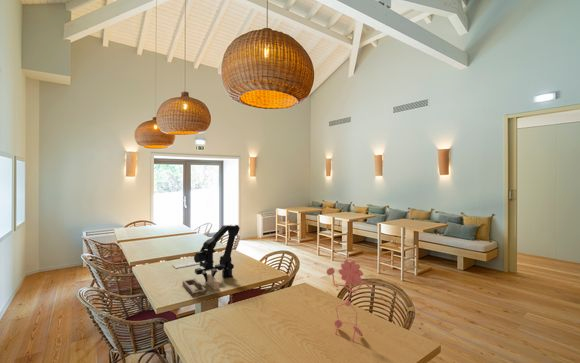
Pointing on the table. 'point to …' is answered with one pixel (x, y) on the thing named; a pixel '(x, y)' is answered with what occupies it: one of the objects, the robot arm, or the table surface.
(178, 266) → the baseboard molding
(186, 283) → the frame
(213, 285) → the clay strip
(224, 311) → the table surface
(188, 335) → the table surface
